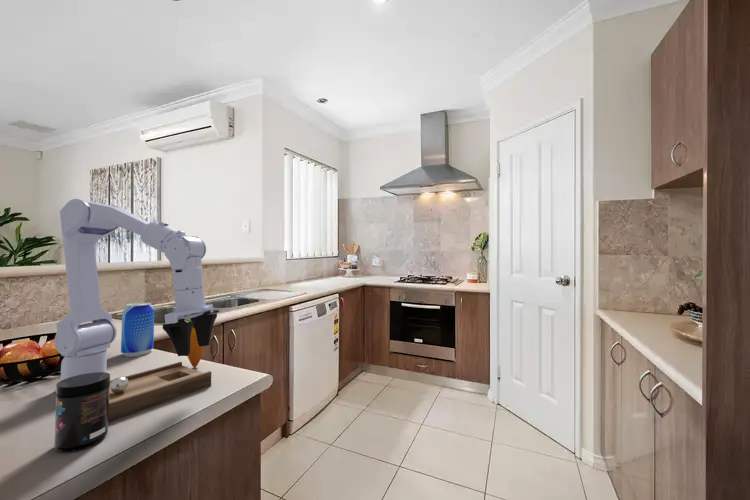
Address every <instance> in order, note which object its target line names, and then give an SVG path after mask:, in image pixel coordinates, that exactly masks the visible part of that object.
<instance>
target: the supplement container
mask: <svg viewBox="0 0 750 500" xmlns="http://www.w3.org/2000/svg"><path fill="white" fill-rule="evenodd" d="M110 380H111V374H110V373H109V372H107V371H106V372H95V373H87V374H82V375H77V376H73V377H70V378H67V379H64V380H62V381H61V380H60V381H58V382H57V383H56V384H55V389H56V391H55V412H54V413H55V416H54V417H55V421H54V440H53V441H54V443H53V444H54V445H53V446H54V449H55V450H56V451H58V452H61V453H71V452H72V453H73V452H77V451H81V450H85V449H87V448H89V447H92V446H94V445H96V444H98V443H99V442H101V441H102V440H103V439H104V438H105V437H106V436H107V435H108V432H109V422H108V421H109V388H110Z"/></svg>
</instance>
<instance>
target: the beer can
mask: <svg viewBox="0 0 750 500" xmlns="http://www.w3.org/2000/svg"><path fill="white" fill-rule="evenodd" d="M120 336H121V339H120V353H122V355H123V356H124V357H132V358H133V357H139V356H144V355H148V354H150V353H151V352H152V350H153V349H154V343H155V341H154V338H155V337H154V336H155V308H154V307H153V306H152V302H133V303H132V302H131V303H128V304H127V303H126V305H125V308H124V309H123V310H122V313H121V335H120Z"/></svg>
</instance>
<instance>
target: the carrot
mask: <svg viewBox="0 0 750 500" xmlns="http://www.w3.org/2000/svg"><path fill="white" fill-rule="evenodd" d="M185 321H186V322H192V321H191V320H190V318H189V319H185ZM204 349H205V346H200V347H199V345H198V341H197V336H196V331H195V328H194V325H193V327H192V331H191V338H190V354H189V355H187V359H188V361H189V363H190V364H191V366H192V368H194V367H195V368H197V366H199V363H200V361H201V359H202V357H203V354H204Z"/></svg>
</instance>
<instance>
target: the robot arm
mask: <svg viewBox="0 0 750 500" xmlns="http://www.w3.org/2000/svg"><path fill="white" fill-rule="evenodd" d="M59 218H60V226H61V228H60V229H61V235H62V244H63V255H64V264H65V265H64V266H65V273H66V274H65V276H66V285H67V294H68V295H67V296H68V304H69V305H68V306H69V313H68V314H67V315H65V316H64V317H62V318H61V319H60V320H59V321H57V323H56V333H55V336H54V340H53V343H54V348H55V350H57V352H58V353H59V354H60V356H61V357H63V359H62V360H61V364H60V381H62V380H64V379H67V378H70V377H73V376H77V375H82V374H87V373H95V372H106V373H107V363H108V362H107V358H108V357H107V356H108V355H107V354H108V349H110V348H111V344H112V343H114V341H115V340H116V337H117V331H118V329H117V327H116V325H115V323H114V322H113V316H112V314H111V312H109V311H107V310H105V309H103V308H102V305H101V296H100V294H101V293H100V286H99V285H100V284H99V277H98V276H99V275H98V264H97V255H96V246H95V245H96V243H97V242H98V241H100V240H102V239H105V237H108V236H109V235H111V234H112V233H113V232H115V231H117V230H118V229H119V228H122V229H124V230H126V231H128V232H131V233H134V234H135V235H138V236H140V240H141V242H142V243H143V244H145V245H147V246H149V247H151V248H153V249H155V250H156V251H159V252H160V253H161V252H162V253H163V254H164V256H165V258H166V259H167V260H168V261H169V267H170V268H171V270H172V280H173V290H174V291H173V292H174V303H175V311H173V312H169V313H167V314H164V323H163V324H162V330H163V331H164V332H165V333H166V334H167V335H168V337H169V338H170V341H171V342H172V343H173V346H174V350H175V351H176V354H177V356H178V357H183V356H188V355H189V354H190V338H191V331H192V327H193V325H194V328H195V331H196V336H197V341H198V345H199V347H200V346H204V347H207V346H210V344H211V343H210V342H211V336H212V332H213V327H214V324H215V321H216V319H217V317H218V313H217V312H214V306H213V305H214V304H206V299H205V298H206V297H205V288H204V275H203V274H204V273H203V263H202V259H203V258H204V257H205V256H206V252H207V246H206V244H205V242H204V240H202V239H201V238H200V237H199V236H192V235H191V236H188V235H186V232H185V231H183V230H177V229H175V228H173V227H170V226H169V225H170V224H169V223H168V222H166V221H161V220H160V221H152V222H148V221H146V220H144V219H143V218H141V217H139V216H137V215H135V214H133V213H132V212H130V211H128V210H126V209H125V208H122V207H120V206H117V205H113V204H111V205H110V204H104V203H99V202H94V201H88V200H83V199H80V198H72V199H69V200H68V201H67V203H65V205H64V206H63V207H61V209H60V210H59ZM186 319H190V320H191V321H192V322H189V321H186ZM87 322H88V323H87ZM54 391H55V392H56V388H54Z"/></svg>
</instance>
